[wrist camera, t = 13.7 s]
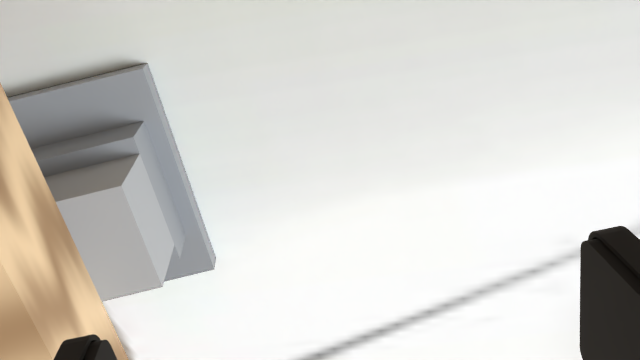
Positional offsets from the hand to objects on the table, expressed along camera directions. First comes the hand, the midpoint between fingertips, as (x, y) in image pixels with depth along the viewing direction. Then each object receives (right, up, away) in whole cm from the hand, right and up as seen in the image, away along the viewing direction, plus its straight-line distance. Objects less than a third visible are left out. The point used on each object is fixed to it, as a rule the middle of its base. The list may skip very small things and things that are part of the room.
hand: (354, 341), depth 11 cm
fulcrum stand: (-15, +2, +26) cm, 30 cm away
